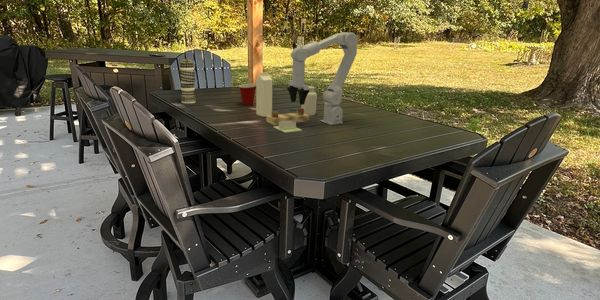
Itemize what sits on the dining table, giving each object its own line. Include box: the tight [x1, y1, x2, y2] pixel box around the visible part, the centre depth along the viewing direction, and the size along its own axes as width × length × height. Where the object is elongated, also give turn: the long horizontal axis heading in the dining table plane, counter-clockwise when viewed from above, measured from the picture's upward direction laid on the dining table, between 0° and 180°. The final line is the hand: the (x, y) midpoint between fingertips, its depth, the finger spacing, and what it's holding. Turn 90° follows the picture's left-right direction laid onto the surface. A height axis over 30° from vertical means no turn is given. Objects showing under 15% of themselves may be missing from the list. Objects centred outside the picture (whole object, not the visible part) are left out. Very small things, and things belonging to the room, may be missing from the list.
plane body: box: [265, 107, 310, 126], centre depth 192 cm, size 20×8×6 cm, turn 122°
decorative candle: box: [178, 58, 197, 104], centre depth 228 cm, size 9×9×25 cm
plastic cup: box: [238, 83, 256, 107], centre depth 229 cm, size 11×11×12 cm
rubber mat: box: [273, 125, 303, 134], centre depth 178 cm, size 11×9×1 cm
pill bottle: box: [300, 85, 318, 117], centre depth 208 cm, size 8×8×15 cm
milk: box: [255, 72, 273, 117], centre depth 202 cm, size 6×6×22 cm
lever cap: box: [278, 120, 297, 130], centre depth 178 cm, size 7×4×3 cm, turn 123°
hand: (297, 103), depth 185 cm, fingers open, 7 cm apart
